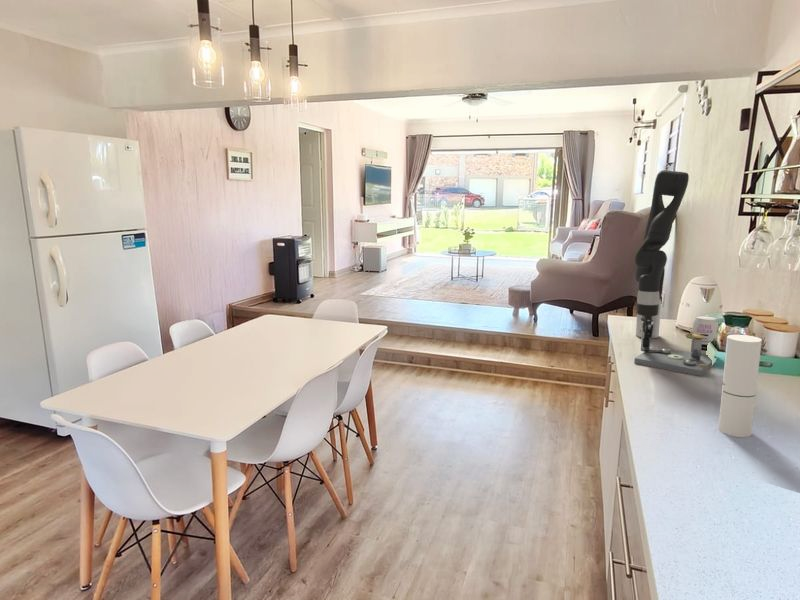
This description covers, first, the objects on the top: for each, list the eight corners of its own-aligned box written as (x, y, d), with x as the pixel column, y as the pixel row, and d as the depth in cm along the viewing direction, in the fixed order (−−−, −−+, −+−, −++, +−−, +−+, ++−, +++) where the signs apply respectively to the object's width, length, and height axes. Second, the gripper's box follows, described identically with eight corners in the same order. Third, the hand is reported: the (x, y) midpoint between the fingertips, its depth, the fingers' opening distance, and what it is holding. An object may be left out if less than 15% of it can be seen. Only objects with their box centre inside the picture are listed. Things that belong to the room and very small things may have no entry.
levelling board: (653, 351, 197) (653, 345, 197) (716, 362, 182) (717, 355, 182) (634, 363, 184) (634, 356, 183) (700, 376, 168) (701, 369, 168)
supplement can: (708, 352, 194) (711, 315, 191) (719, 358, 186) (723, 320, 183) (686, 352, 195) (689, 315, 192) (697, 358, 187) (700, 320, 184)
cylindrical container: (746, 426, 130) (756, 335, 126) (755, 438, 124) (766, 342, 119) (715, 423, 133) (723, 333, 128) (722, 435, 126) (731, 341, 121)
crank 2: (694, 366, 172) (696, 341, 170) (681, 364, 175) (683, 339, 173) (703, 359, 179) (705, 335, 178) (690, 357, 182) (692, 333, 181)
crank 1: (669, 351, 190) (671, 328, 188) (671, 354, 186) (673, 330, 185) (638, 349, 193) (640, 327, 191) (640, 352, 189) (642, 329, 188)
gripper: (662, 306, 179) (659, 351, 183) (655, 299, 193) (652, 341, 196) (640, 305, 182) (637, 350, 185) (634, 298, 195) (631, 340, 198)
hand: (645, 345), depth 190 cm, fingers closed on crank 1, 3 cm apart
